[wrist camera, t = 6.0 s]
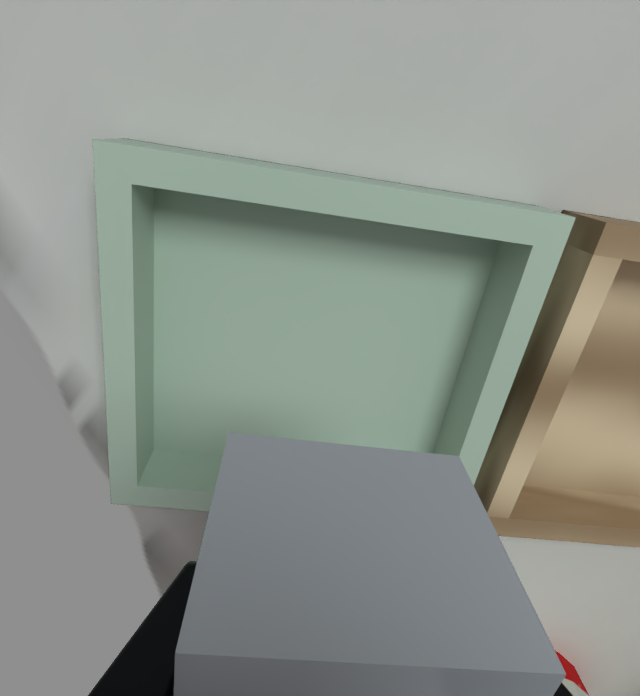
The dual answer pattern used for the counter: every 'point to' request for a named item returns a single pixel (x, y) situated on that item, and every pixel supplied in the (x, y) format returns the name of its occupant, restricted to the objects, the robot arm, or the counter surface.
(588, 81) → the counter surface
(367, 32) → the counter surface
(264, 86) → the counter surface
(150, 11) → the counter surface
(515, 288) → the green bin
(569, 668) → the kitchen timer
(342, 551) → the grey cube
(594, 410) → the oak tray
